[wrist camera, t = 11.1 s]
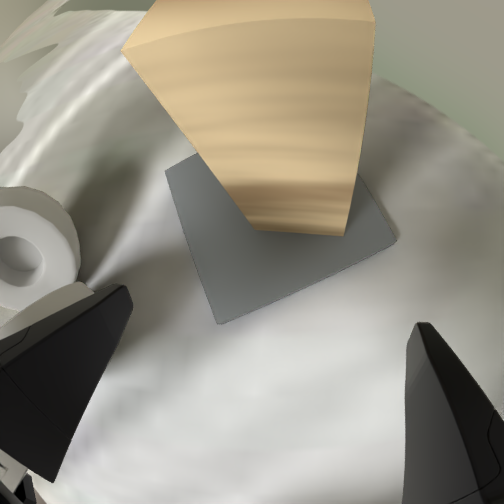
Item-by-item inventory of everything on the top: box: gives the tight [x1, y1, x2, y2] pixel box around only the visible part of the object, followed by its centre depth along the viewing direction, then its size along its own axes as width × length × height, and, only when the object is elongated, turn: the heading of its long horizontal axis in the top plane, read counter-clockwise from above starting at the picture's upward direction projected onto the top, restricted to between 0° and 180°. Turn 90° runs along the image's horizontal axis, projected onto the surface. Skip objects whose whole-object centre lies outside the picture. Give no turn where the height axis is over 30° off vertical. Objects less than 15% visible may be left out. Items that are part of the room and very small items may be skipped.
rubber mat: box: [165, 153, 397, 324], centre depth 18 cm, size 11×11×1 cm
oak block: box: [121, 0, 376, 236], centre depth 11 cm, size 5×5×13 cm
